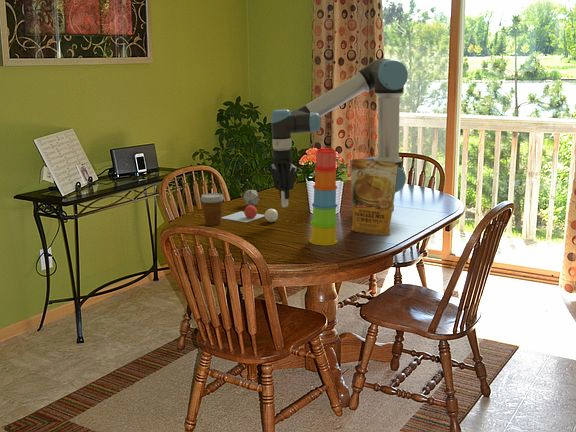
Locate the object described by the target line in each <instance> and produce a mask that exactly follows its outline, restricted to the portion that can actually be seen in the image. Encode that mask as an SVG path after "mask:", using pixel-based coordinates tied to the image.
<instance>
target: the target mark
mask: <svg viewBox="0 0 576 432" xmlns="http://www.w3.org/2000/svg"><path fill="white" fill-rule="evenodd" d="M263 217H264V218H265V214H260V213H257V215H256V216H255V217H254V218H247V217H246V216H245V214H244V211H242V210H241V211H238V212H237V211H236V212H235V213H231V214H229V215H225V216H222V217H221V220H228V221H233V222H234V221H235V222H242V223H249V222H252V221H255V220H258V219H262V218H263Z"/></svg>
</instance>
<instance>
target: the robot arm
mask: <svg viewBox="0 0 576 432" xmlns="http://www.w3.org/2000/svg"><path fill="white" fill-rule="evenodd" d="M408 78H409V73H408V69H407V67H406V65H405V64H404V63H403V62H402V61H400V60H399V59H395V58H378V59H376V60H374V61H372V62H371V63H369V64H367V65H366V66H364V67H363V68H361V69H359V70H358V71H356V72H355V75H354V76H352V77H350V78H348V79H347V80H346V81H344V82H342V83H340V84H338V85H336V86H335V87H333V88H332V89H330V90H329V91H326V92H324V93H323V94H322V95H319V97H317V98H315V99H313V100H312V101H310V102H308V103H307V104H305V105H303V106H301V107H299V108H297V109H293V110H291V111H290V110H289V109H286V108H285V109H274V110H272V111H271V117H270V118H271V120H270V123H271V124H270V125H271V137H272V141H271V142H272V149H273V150H272V158H273V163H272V164H270V165H269V166H268V168H269V171H270V173H271V176H272V177H271V178H272V180H273V185H274V188H275V189H276V190H278V192H279V198H280V199H281V200H280V201H281V208H287V207H289V199H290V190H294V187H295V186H294V185H295V180H296V174H297V173H296V172H297V170H298V168H299V167H298V166H295V165H294V164H293V161H292V157H293V155H292V153H293V152H292V151H293V150H292V134H296V133H297V134H298V133H314V132H319V130H320V129H321V127H322V126H321V123H322V122H321V117H323V116H324V115H326V114H328V113H329V112H332V111H333V110H335V109H337V108H338V107H340V106H342V105H343V104H346V103H347V102H348V101H350V100H352V99H353V98H355V97H357V96H358V95H361V94H362V93H369V92H370V91H373V90H374V95H376V97H377V99H378V100H377V101H378V102H377V103H378V104H377V105H378V106H377V108H378V109H377V111H378V113H377V116H378V117H377V119H378V120H377V156H376V157H375V156H374V157H365V160H376V161H388V162H395V164H396V165H398V175H397V183H396V192H395V194H396V193H397V192H399V191H401V190H402V189H403V188H404V187H405V184H406V182H407V176H406V175H407V174H406V173H405V171H404V169H403V159H402V158H401V157H400V155H399V154H400V103H401V101H400V100H401V99H400V98H401V97H402V96H403V94H404V92H405V91H404V89H405V87H404V86H405V85H406V83H407V81H408ZM394 203H395V202H394ZM394 203H393V209H392V212H393V211H394V210H395V204H394Z"/></svg>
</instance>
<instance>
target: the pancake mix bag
mask: <svg viewBox="0 0 576 432" xmlns="http://www.w3.org/2000/svg"><path fill="white" fill-rule="evenodd" d="M365 159H366V158H365ZM365 159H363V158H359V159H358V158H353V159H351V160H349V165H350V187H351V188H350V192H351V193H350V194H351V204H352V205H351V209H352V222H351V223H352V224H351V230H352V231H354V232H355V233H360V234H367V235H374V236H381V237H382V236H383V237H384V236H390V235H391V229H390V226H391V221H392V215H393V211H392V209H393V203H395V195H396V193H397V192H396V183H397V175H398V165H396V164H395V162H388V161H376V160H365ZM395 192H396V193H395Z"/></svg>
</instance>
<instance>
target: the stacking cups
mask: <svg viewBox="0 0 576 432" xmlns="http://www.w3.org/2000/svg"><path fill="white" fill-rule="evenodd" d="M315 152H316V153H315V155H316V156H315V167H314V168H313V169H314V185H313V186H312V189H313V203H312V204H311V206H312V220H311V221H310V225H311V233H310V234H311V237H310V238H309V243H310V244H312V245H316V246H322V247H323V246H324V247H325V246H333V245H336V244H337V243H338V240H337V239H336V237H337V236H336V234H337V233H336V231H337V226H338V221H337V220H336V219H337V207H338V204H337V201H336V200H337V189H338V186H337V170H338V168H337V167H336V166H337V165H336V164H337V161H336V159H337V154H336V153H337V152H336V150H335V149H334V148H331V147H330V148H327V147H321V148H318V149H317V150H316V151H315Z"/></svg>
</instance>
